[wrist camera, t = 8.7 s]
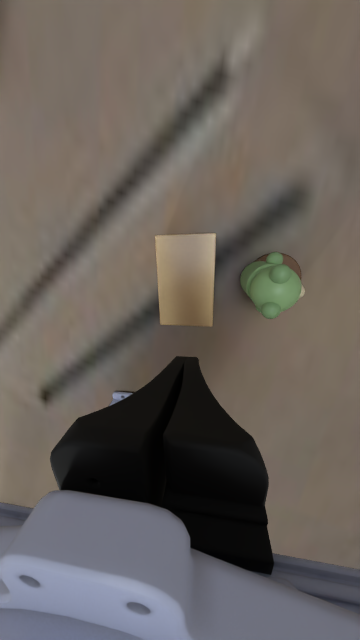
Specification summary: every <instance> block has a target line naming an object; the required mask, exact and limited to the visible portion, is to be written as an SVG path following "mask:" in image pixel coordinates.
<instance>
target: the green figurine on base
mask: <svg viewBox="0 0 360 640" xmlns="http://www.w3.org/2000/svg"><path fill="white" fill-rule="evenodd" d="M240 284H241V287H242V289H243V290H244V291H245V292H246V294H247V295H248V296H249V297H250V299H251V300H252V301H253V302H254V304H255V307H256V309H257V310H258V311H259V312H261V313H262V315H263V316H264V317H266V318H268V319H273V318H276V317H277V316H278V315H279V314H280V312H282V311H285V310H287V309H289V308H290V307H292V306H293V305H294V304H295V303H296V302H297V300H298V299H300V298H301V297H302V296H303V295H304V293H305V289H304V287H303V286H302V285H301V270H300V267H299V265H298V263H297V262H296V261H295V260H294V259H293V258H292V257H290V256H288V255H285V254H281V253H279V252H273V253H271V254H267V255H264V256H262V257H260V258H258V259H257V260H256V261H254V262H253V263H251V264H249V265H248V266H247V267H246V268H245V269H244V270H243V272H242V274H241V277H240Z"/></svg>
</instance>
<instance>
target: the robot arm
mask: <svg viewBox="0 0 360 640" xmlns="http://www.w3.org/2000/svg"><path fill="white" fill-rule="evenodd" d="M50 462H51V467H52V470H53V473H54V476H55V478H56V481H57V484H58V487H59V490H57V491H52V492H49V493H48V494H47V495H45V496H44V497H43V498H41V499H40V500H39V502H38V503H37V505H36V506H35V508H34V509H33V508H28V507H22V506H17V505H12V504H6V503H1V502H0V640H360V569H354V568H349V567H344V566H338V565H333V564H328V563H322V562H317V561H311V560H306V559H301V558H295V557H290V556H285V555H279V554H274V553H272V549H271V545H270V540H269V535H268V530H267V524H268V519H267V514H266V509H265V501H266V496H267V491H268V485H269V482H268V474H267V470H266V467H265V464H264V461H263V459H262V456H261V454H260V452H259V449H258V447H257V445H256V443H255V441H254V439H253V437H252V436H251V435H250V434H248V433H247V432H246V431H245V430H244V429H243V428H241V427H240V426H239V425H238V424H237V423H236V422H235V421H234V420H233V419H232V418H231V417H230V416H229V415H228V414H227V413H226V411H225V410H224V409H223V408H222V407H221V406H220V404H219V403H218V401H217V400H216V399H215V397H214V396H213V394H212V393H211V391H210V389H209V388H208V386H207V384H206V382H205V380H204V378H203V375H202V373H201V370H200V367H199V359H198V358H197V357H181V356H176V357H175V358H174V359H173V360H172V361H171V363H170V364H169V365H168V366H167V367H166V368H165V369H164V370H163V371H162V372H161V373H160V374H159V375H157V376H156V377H155V378H154V379H153V380H152V381H150V382H149V383H148V384H147V385H145V386H144V387H142V388H141V389H139V390H138V391H136V392H135V393H127V392H114V393H113V401H112V402H111V404H110V405H109V406H108V407H106V408H104V409H101V410H99V411H96V412H93V413H91V414H88V415H85V416H82V417H79V418H78V419H77V420H76V421H75V422H74V423H73V425H72V426H71V427H70V428H69V430H68V431H67V432H66V433H65V435H64V436H63V437H62V439H61V440H60V441H59V442H58V444H57V445H56V446H55V448H54V449H53V450H52V452H51V456H50Z"/></svg>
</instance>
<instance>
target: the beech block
mask: <svg viewBox="0 0 360 640" xmlns="http://www.w3.org/2000/svg"><path fill="white" fill-rule="evenodd" d="M155 242H156V259H157V276H158V293H159V310H160V325H183V326H211V327H212V325H213V300H214V274H215V249H216V233H205V234H175V235H155Z"/></svg>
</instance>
